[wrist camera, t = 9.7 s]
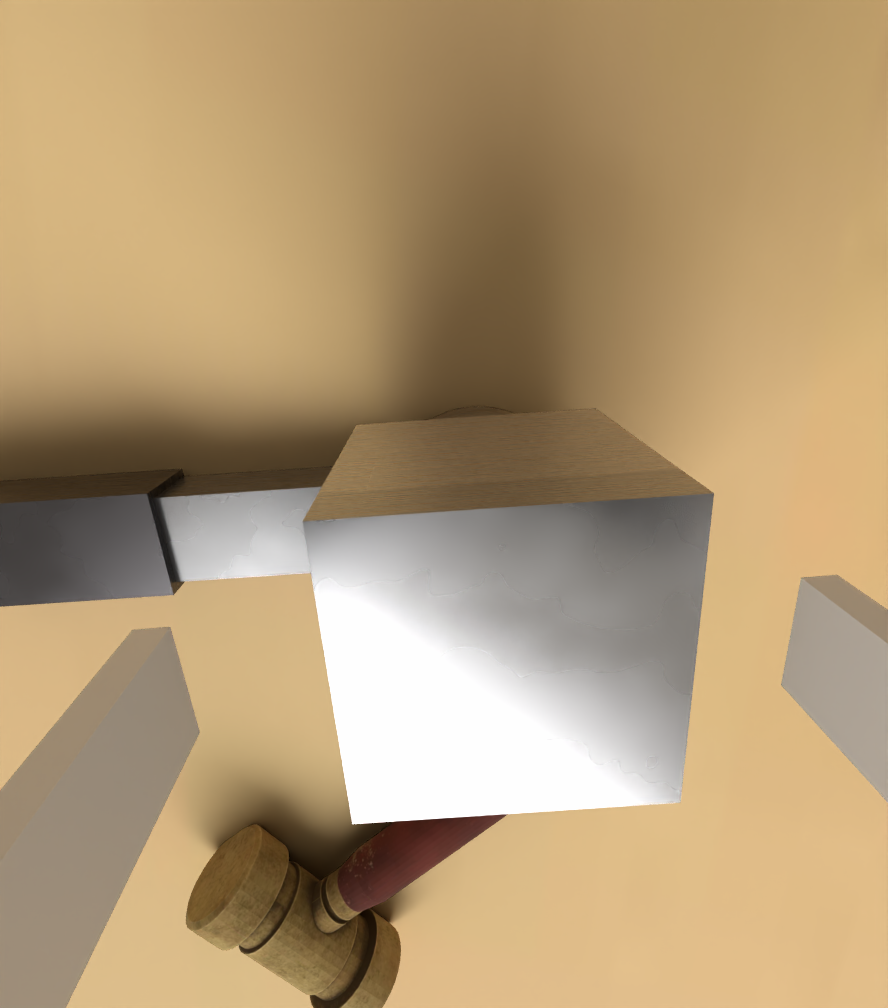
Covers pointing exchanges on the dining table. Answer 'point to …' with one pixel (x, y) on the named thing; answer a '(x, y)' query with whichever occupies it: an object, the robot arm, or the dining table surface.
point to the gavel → (321, 906)
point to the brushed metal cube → (508, 614)
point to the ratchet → (154, 530)
